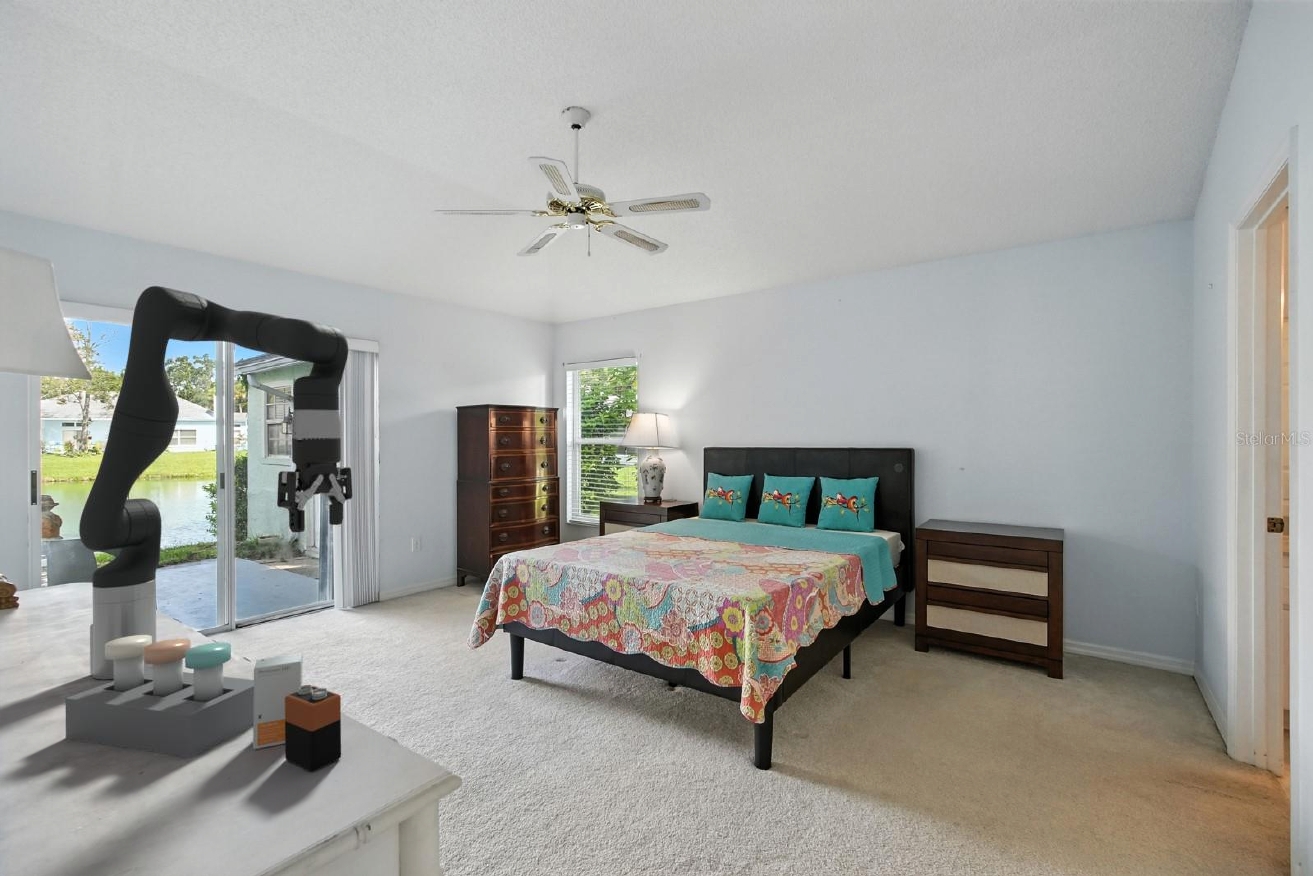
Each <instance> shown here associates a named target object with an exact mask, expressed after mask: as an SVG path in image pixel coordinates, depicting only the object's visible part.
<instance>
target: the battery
mask: <svg viewBox="0 0 1313 876" xmlns="http://www.w3.org/2000/svg"><path fill="white" fill-rule="evenodd" d="M341 699H342V698H341V695H340V694H338V693H335V692H333V691H329V690H328V688H327V687H318V686H317V685H313V686H312V684H305V685H304V684H303V685H302V686H301V687H300V688H299V691H298V692H295V693H292V694H290V695H287V696H286V697H285V743H284V744H285V745H284V747H285V748H284V750H285V752H284V753H285V754H284V755H285V760H286V761H288V762H290V763H292V764H295V765H297V766H299V767H301V768H303V769H305V770H307V771H309V772H316V771H317V770H319V769H321V768H324V767H326V766H327V765H330V764H332V763H334V762H336V761H339V760H340V759H341V758H342V757H341V756H342V739H341V738H342V728H341V727H342V725H341V724H342V721H341V720H342V712H341V711H342V709H341V705H342V704H341V702H342V701H341ZM339 758H340V759H339ZM335 760H336V761H335Z"/></svg>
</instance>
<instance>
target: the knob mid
mask: <svg viewBox="0 0 1313 876" xmlns="http://www.w3.org/2000/svg"><path fill="white" fill-rule="evenodd" d="M191 641H192V640H191V639H190V638H189V639H188V638H173V639H166V640H161V641H156V643H153V644H150V645H148V646H146V647H145V648H144V663H146V664H153V668H152V669H153V696H159V697H166V696H168V695H171V694H173V693H176V692H178V691H181V690H183V672H184V670H183V669H184V668H183V667H184V666H183V661H184V660H183V659H185V652H186V651H187V650H189V649H191V648H192V646H191V644H192V643H191Z"/></svg>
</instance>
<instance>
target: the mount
mask: <svg viewBox="0 0 1313 876" xmlns="http://www.w3.org/2000/svg"><path fill="white" fill-rule="evenodd" d="M253 722H254V679H246V678H238V677H229V676H223V695H222V696H220V697H217V698H215V699H213V700H211V701H208V702H198V701H194V672H185V671H183V690H181V691H178V692H176V693H173V694H171V695H168V696H166V697H159V696H153V668H149V669H146V670H144V685H142V686H139V687H136V688H134V689H131V690H128V691H126V692H119V691H114V680H112V681H111V682H108V683H105V684H102V685H99V686H96V687H94V688H93V687H92V688H89V689H87V690H85V691H82V692H79V693H76V694H74V695H71V696H68V697H65V739H71V740H76V741H84V742H90V743H95V744H101V745H109V746H114V747H115V746H116V747H122V748H128V749H134V750H140V751H147V752H152V753H161V754H167V755H172V756H178V757H184V758H185V757H186V758H192V757H194V756H196V755H198V754H200V753H202V752H204V751H206V750H207V749H210V748H211V747H213V746H215V745H217V744H219V743H221V742H222V741H225V740H227V739H229V738H230V737H232V736H234V735H236V734H239V733H240V732H242V731H244V730H246V729H247V728H249V727H250V728H251V727H252V726H253Z"/></svg>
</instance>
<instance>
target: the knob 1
mask: <svg viewBox="0 0 1313 876" xmlns="http://www.w3.org/2000/svg"><path fill="white" fill-rule="evenodd" d="M150 644H152V636H150V635H135V636H128V637H123V638H119V639H115V640H112V641H109V642H107V643H106V644H105V659H108V660H114V679H113V681H114V691H119V692H126V691H128V690H131V689H134V688H136V687H139V686H142V685H144V648H145V647H146V646H148V645H150Z"/></svg>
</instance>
